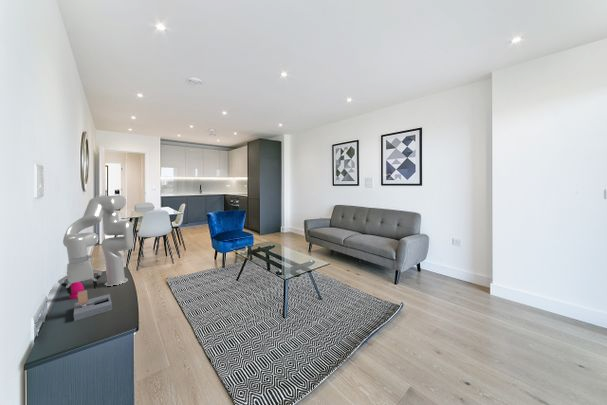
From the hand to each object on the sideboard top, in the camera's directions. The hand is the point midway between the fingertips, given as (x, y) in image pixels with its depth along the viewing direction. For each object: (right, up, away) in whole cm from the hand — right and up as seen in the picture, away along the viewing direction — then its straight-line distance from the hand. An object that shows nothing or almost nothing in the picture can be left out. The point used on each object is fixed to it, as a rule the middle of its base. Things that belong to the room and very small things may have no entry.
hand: (83, 290), depth 131 cm
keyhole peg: (+1, -11, 0) cm, 11 cm away
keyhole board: (+3, -11, +3) cm, 12 cm away
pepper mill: (-21, -11, +19) cm, 30 cm away
